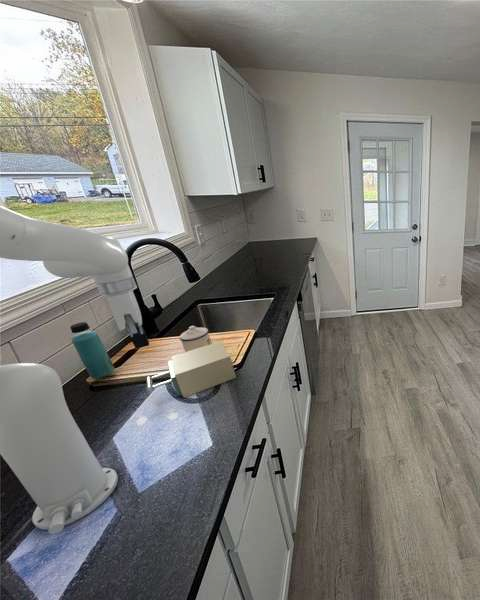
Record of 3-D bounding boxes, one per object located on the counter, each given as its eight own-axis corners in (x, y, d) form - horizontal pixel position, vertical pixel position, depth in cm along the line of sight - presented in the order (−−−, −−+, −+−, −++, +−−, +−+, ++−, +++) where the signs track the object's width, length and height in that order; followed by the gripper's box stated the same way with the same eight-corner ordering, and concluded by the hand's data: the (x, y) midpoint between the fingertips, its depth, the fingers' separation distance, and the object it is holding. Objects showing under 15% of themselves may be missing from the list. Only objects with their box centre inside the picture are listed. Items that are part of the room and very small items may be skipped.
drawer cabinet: (183, 397, 93) (174, 375, 90) (178, 377, 103) (170, 356, 100) (236, 377, 101) (229, 356, 98) (227, 360, 111) (220, 340, 108)
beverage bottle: (120, 374, 107) (95, 321, 99) (95, 385, 102) (67, 330, 94) (113, 369, 110) (88, 317, 103) (88, 379, 105) (61, 326, 98)
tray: (152, 406, 89) (144, 387, 87) (150, 385, 98) (143, 369, 96) (227, 377, 100) (222, 360, 98) (219, 361, 109) (214, 346, 107)
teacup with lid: (216, 355, 115) (207, 327, 111) (187, 364, 111) (176, 335, 106) (213, 343, 124) (204, 316, 120) (186, 350, 120) (176, 323, 116)
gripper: (100, 282, 86) (126, 341, 93) (96, 296, 75) (125, 362, 82) (135, 276, 90) (157, 332, 97) (135, 288, 79) (160, 351, 86)
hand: (142, 346), depth 89 cm, fingers closed
